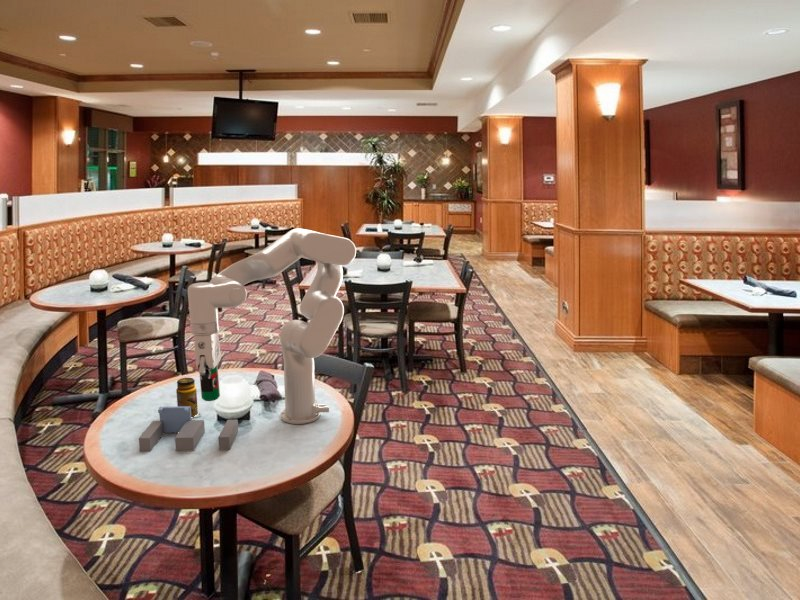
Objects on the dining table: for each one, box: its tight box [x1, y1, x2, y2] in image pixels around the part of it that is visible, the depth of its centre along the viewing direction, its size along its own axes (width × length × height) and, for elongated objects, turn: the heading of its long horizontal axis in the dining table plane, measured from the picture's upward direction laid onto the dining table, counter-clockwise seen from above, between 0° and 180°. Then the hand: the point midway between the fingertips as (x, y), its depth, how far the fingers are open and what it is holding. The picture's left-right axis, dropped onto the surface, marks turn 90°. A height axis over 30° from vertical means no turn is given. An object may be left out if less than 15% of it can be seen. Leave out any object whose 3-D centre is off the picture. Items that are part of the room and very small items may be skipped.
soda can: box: [199, 364, 221, 402], centre depth 177 cm, size 5×5×12 cm
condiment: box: [176, 377, 199, 417], centre depth 198 cm, size 7×8×12 cm
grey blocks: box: [138, 406, 239, 452], centre depth 180 cm, size 25×13×8 cm, turn 93°
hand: (210, 387), depth 178 cm, fingers closed on soda can, 5 cm apart
